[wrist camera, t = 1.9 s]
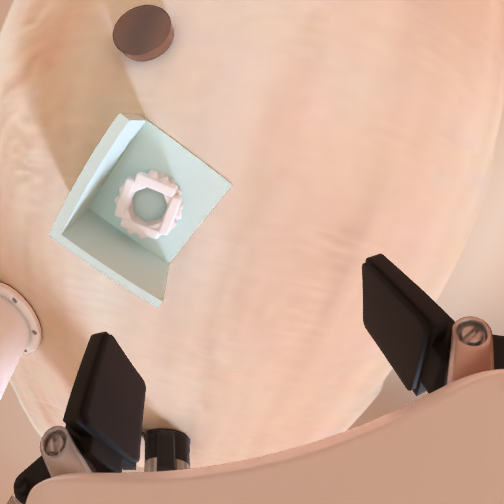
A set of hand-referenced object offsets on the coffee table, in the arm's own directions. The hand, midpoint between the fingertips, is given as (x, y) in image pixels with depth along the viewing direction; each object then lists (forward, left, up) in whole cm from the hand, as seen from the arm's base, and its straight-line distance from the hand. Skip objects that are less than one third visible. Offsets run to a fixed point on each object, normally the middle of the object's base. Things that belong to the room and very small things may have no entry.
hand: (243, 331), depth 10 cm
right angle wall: (-6, -2, -22) cm, 23 cm away
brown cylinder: (-11, +14, -22) cm, 28 cm away
